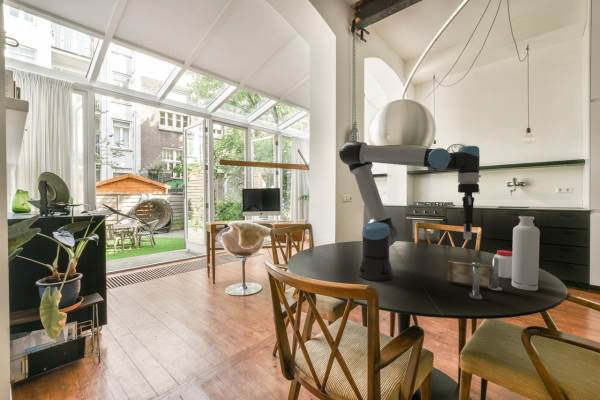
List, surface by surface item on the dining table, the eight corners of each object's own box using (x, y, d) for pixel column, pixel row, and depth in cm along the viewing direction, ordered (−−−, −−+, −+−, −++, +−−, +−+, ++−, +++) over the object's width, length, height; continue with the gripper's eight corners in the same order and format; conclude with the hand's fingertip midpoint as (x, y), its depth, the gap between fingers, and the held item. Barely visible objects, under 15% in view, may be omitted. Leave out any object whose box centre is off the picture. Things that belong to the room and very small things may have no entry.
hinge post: (489, 289, 104) (489, 259, 104) (487, 286, 108) (487, 256, 108) (503, 291, 102) (503, 260, 102) (500, 287, 106) (501, 257, 106)
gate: (490, 284, 107) (490, 264, 107) (491, 286, 105) (491, 266, 105) (447, 279, 114) (447, 260, 114) (447, 280, 112) (448, 261, 111)
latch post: (470, 297, 97) (471, 263, 97) (469, 294, 100) (469, 261, 100) (482, 299, 95) (483, 264, 95) (480, 295, 99) (481, 262, 98)
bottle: (538, 292, 102) (541, 218, 101) (511, 287, 107) (513, 217, 106) (536, 286, 108) (539, 216, 107) (511, 281, 113) (513, 215, 112)
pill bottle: (507, 273, 125) (508, 249, 125) (519, 278, 118) (519, 253, 117) (489, 272, 126) (490, 249, 126) (500, 278, 119) (500, 253, 118)
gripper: (481, 182, 106) (480, 242, 107) (476, 183, 118) (475, 237, 119) (459, 183, 110) (458, 240, 110) (456, 183, 121) (456, 236, 122)
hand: (467, 239), depth 115 cm, fingers closed
